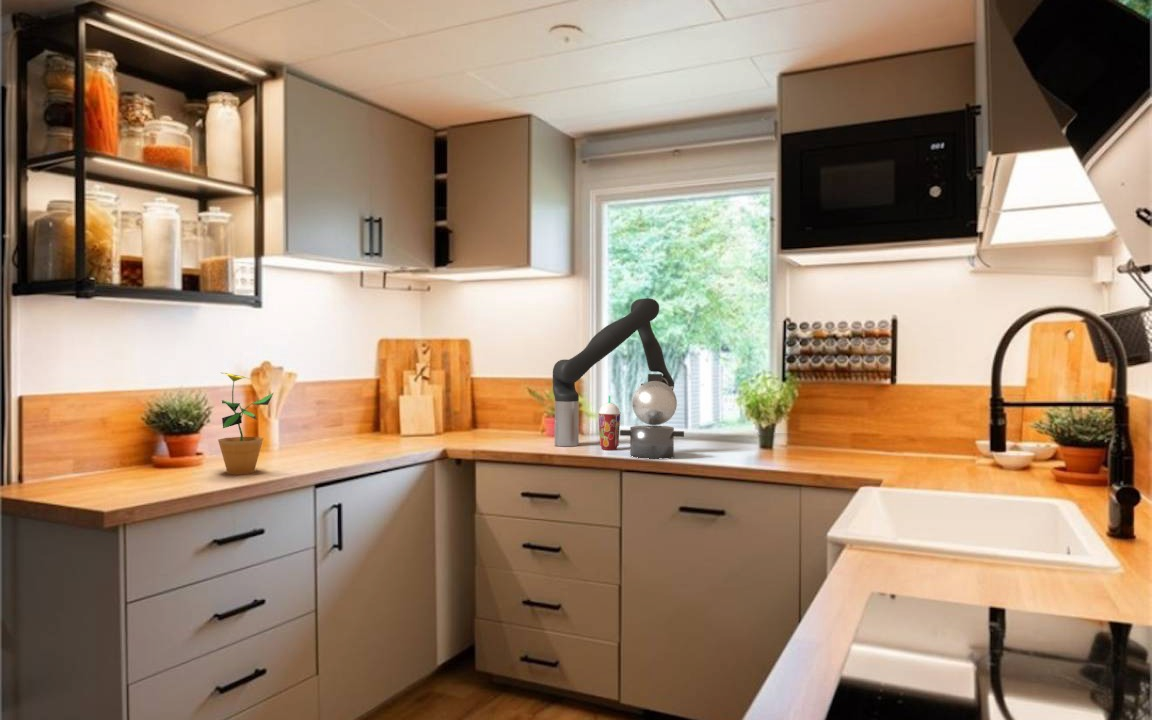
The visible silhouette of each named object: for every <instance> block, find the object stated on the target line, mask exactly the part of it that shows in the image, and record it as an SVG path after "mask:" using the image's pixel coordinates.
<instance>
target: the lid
mask: <svg viewBox="0 0 1152 720" xmlns="http://www.w3.org/2000/svg"><path fill="white" fill-rule="evenodd" d="M662 376H663V374H662V373H648V374H647V382H644V383H643V385H641V384H640V385H639V387H638V388H637V389H636V390H635V392H634V394H633V396H632V399H631V400H632V401H631V402H632V403H631V405H632V410H633V413H634V414H635V416H636V418H638V420H640V421H641V422H642V423H644V424H646V425H648V426H661V425H664V424H665V423H667V422H668V421H670V420H671V419H672V418H673V416H674V415H675V413H676V411H677V405H678V401H677V396H676V394H675V392H674V389H673V390H672V389H671V388H670V387H669V386H668V385H667V384H665V383H663V382H662Z"/></svg>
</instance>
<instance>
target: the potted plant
mask: <svg viewBox="0 0 1152 720" xmlns="http://www.w3.org/2000/svg"><path fill="white" fill-rule="evenodd" d="M221 374H223V375H226V376H227V377H228V378H229V379H230V380H232V382H233V383H232V390H231V393H232V394H231V398H232V401H231V402H230V401H227V400H224V399H222V400H221V404H225V405H227V406H228V407H229V408H230V410H231V411H233V414H231V415H227V416H224V417H222V418H221V419H222V429H225V428H228V427H233V426H236V425H238V429H239V434H240V436H234V437H233V436H232V437H224V438H218V439H217V441H218V445H219V448H220V452H221V454H222V459H223V461H224V466H225V469H226V473H227V474H228V475H247V474H249V475H250V474H253V473H255V470H256V467H257V462H258V460H259V455H260V452H261V448H262V444H263V441H264V437H259V436H244V435H243V431H242V428H241V424H242V423H243V421H242V419H243V416H244V415H246V416H248V417H250V418H252V419H255V420H256V421H258V418H257V416H256V415H255V414H254V413H252V412H250V411H248V410H247V409H248V408H249V407H250V406H251V405H259V406H268V405H269V403H270V401H271V400H272V397H273V395H274V392H272V393H270V394H268V395H266V396H265V397H263V398H261V399H259V400H257V401H254V402H253V403H252V402H251V403H250V404H249V405H247V406H246V407H245V408H242V407H241V403H239V402H238V403H237V402H234V387H235V382H236V381H239V380H242V379H245V380H246V379H248V380H250V378H249V377H245V376H243V375H238V374H233V373H227V372H221ZM238 407H239V409H240V412H236V411H237V410H238ZM243 414H244V415H243Z"/></svg>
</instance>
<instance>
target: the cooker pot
mask: <svg viewBox="0 0 1152 720" xmlns="http://www.w3.org/2000/svg"><path fill="white" fill-rule="evenodd" d="M619 436H627V437H629V436H630V438H629V440H630V442H629V444H630V446H629V447H630V448H629V449H630V452H629V453H630V455H631V456H633V457H638V458H637V459H639V458H649V459H648V460H660V459H659V458H669V459H672V458H671V457H673V456H674V455H675V453H674V452H675V447H674V446H675V444H674V443H675V441H674V439H675V438H674V437H678V438H681V437H682V438H684V437H685V431H684V430H675V429H674V427H673V426H670V425H669V426H667V425H635V426H630V428H629V429H621V430H620V429H619ZM631 456H630V457H631ZM633 457H632V458H633ZM673 458H674V457H673Z"/></svg>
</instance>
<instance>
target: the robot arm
mask: <svg viewBox="0 0 1152 720" xmlns="http://www.w3.org/2000/svg"><path fill="white" fill-rule="evenodd" d="M659 312H660V305H659V302H658V301H657V300H655V299H654V298H648V297H645V298H638V299H635V300H634V301H633V302H632V303H631V306H630V312H629V313H628V314H627V315H625V316H623V317H622V318H619V319H617V320H615V321H614V322H612V323H610V324H608V325H606V326H605V327H604V328H602V329H601V330H600V331H598V332H597V333H596V334H595V335H594V336H593V337H592V338H591V339H590V340H589V342H588V343H587V345H586V347H584V349H583V350H581V351H580V352H579V353H577V354H576V355H574V356H573V357H572V358H569V359H560V360H558V361H557V362H556V363H555V364H554V366H553V368H552V389H553V390H552V392H553V395H554V447H556V446H557V447H578V446H579V439H580V438H579V435H580V434H579V431H580V430H579V429H580V428H579V427H580V426H579V425H580V424H579V423H580V421H579V420H580V419H579V418H580V417H579V415H580V414H579V410H580V409H579V403H580V401H579V400H580V397H579V395H580V394H579V393H578V392H577V389H576V384H575V383H576V382H578V381H579V380H580V379H581V378H582V377H583V376H584V375H585V374H586V373H588V371H589V370H590V369H591V368H592V367H593V366H595V365H596V364H597V363H599V362H600V361H601V360H602V359H604V358H605V357H606V356H608V355H609V354H610V353H612V352H613V351H615V350H616V349H617V348H618V347H619V346H621V345H622V344H623V343H624V342H625V341H626V340H627V339H628V338H630V337H632V335H633V334H634V333H635V332H636V331H637V332H638V335H639V337H640V338H639V339H640V341H641V343H642V347H643V350H644V351H643V352H644V355H645V358H646V364H647V368H648V370H649V372H651V373H654V372H656V373H660V374H662V382H663V383H665V384H667V385H668V386H669V387H670V388H671V389H672V390H673V391H674V389H675V382H674V379H673V377H672V376H671V374H670V372H669V369H668V368H667V365H666V362H665V357H664V352H663V350H662V347H661V344H660V343H659V341H658V339H657V337H656V336H655V333H654V331H653V328H652V325H651V322H652V321H654V320H655V319H656V318H657V316H658V315H659ZM643 384H644V383H640V386H641V385H643Z"/></svg>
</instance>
